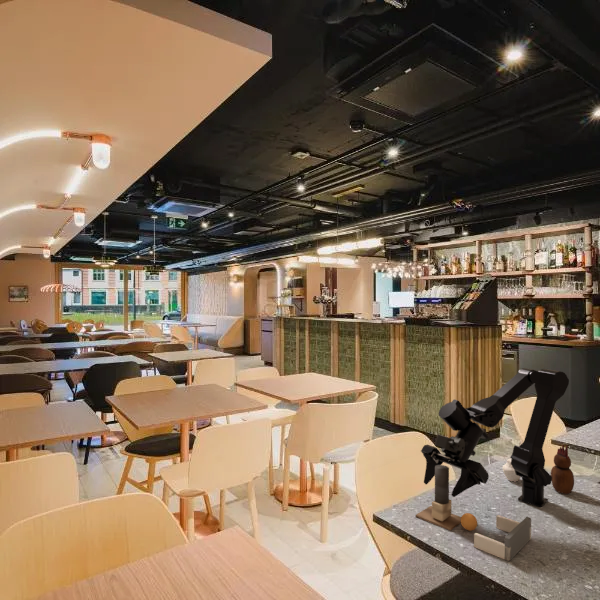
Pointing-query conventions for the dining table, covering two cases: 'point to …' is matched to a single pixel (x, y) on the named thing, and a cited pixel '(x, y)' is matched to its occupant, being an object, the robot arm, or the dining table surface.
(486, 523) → the dining table surface
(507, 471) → the muffin
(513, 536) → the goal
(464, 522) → the ball
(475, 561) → the dining table surface
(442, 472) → the ball
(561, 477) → the wooden figurine
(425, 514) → the brown rectangular plate
